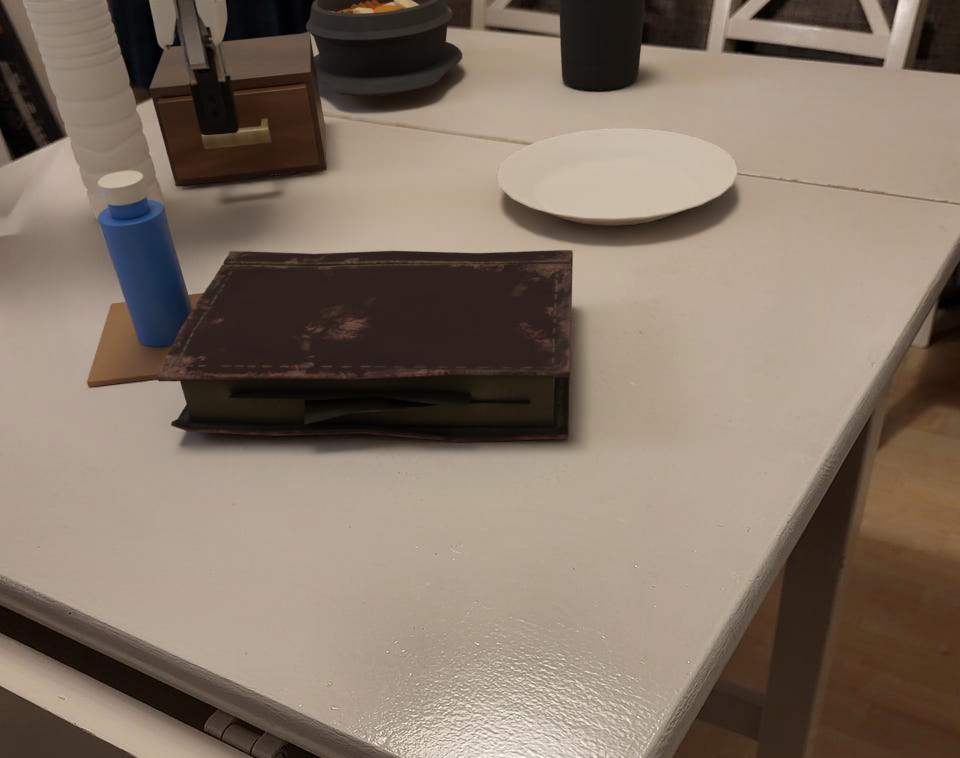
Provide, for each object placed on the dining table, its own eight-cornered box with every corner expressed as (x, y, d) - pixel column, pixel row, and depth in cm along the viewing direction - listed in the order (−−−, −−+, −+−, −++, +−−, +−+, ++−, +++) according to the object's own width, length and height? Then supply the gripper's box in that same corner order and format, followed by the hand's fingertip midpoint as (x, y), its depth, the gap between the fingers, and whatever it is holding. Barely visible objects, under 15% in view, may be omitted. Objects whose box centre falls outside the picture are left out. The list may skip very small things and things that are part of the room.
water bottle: (167, 194, 93) (77, -129, 76) (163, 220, 89) (65, -117, 71) (75, 205, 93) (-38, -118, 75) (65, 233, 88) (-57, -105, 71)
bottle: (134, 350, 71) (81, 195, 63) (141, 322, 74) (92, 170, 66) (195, 343, 71) (149, 187, 63) (199, 315, 74) (157, 163, 66)
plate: (771, 173, 88) (775, 147, 87) (667, 265, 76) (669, 237, 75) (573, 140, 97) (573, 116, 96) (452, 217, 85) (450, 191, 84)
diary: (245, 305, 75) (230, 242, 71) (571, 306, 73) (573, 240, 69) (171, 446, 61) (149, 376, 58) (568, 451, 59) (570, 379, 56)
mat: (88, 387, 68) (86, 382, 68) (112, 308, 77) (111, 303, 76) (231, 370, 69) (230, 365, 68) (239, 293, 77) (238, 288, 77)
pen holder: (645, 90, 107) (651, -15, 100) (560, 95, 108) (560, -10, 101) (637, 65, 114) (642, -35, 107) (557, 69, 114) (557, -30, 108)
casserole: (472, 104, 107) (467, 17, 101) (304, 119, 107) (289, 33, 101) (456, 43, 125) (451, -34, 119) (312, 56, 125) (299, -20, 119)
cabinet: (326, 169, 96) (310, 71, 89) (175, 186, 95) (149, 88, 89) (324, 123, 105) (310, 32, 99) (187, 138, 105) (164, 47, 99)
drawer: (319, 180, 91) (306, 101, 86) (173, 196, 90) (152, 117, 86) (317, 122, 103) (305, 49, 98) (189, 136, 102) (170, 63, 98)
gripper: (124, -149, 75) (183, 107, 88) (94, -121, 64) (167, 166, 77) (222, -156, 75) (267, 100, 88) (209, -129, 65) (262, 158, 77)
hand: (220, 130), depth 82 cm, fingers closed
